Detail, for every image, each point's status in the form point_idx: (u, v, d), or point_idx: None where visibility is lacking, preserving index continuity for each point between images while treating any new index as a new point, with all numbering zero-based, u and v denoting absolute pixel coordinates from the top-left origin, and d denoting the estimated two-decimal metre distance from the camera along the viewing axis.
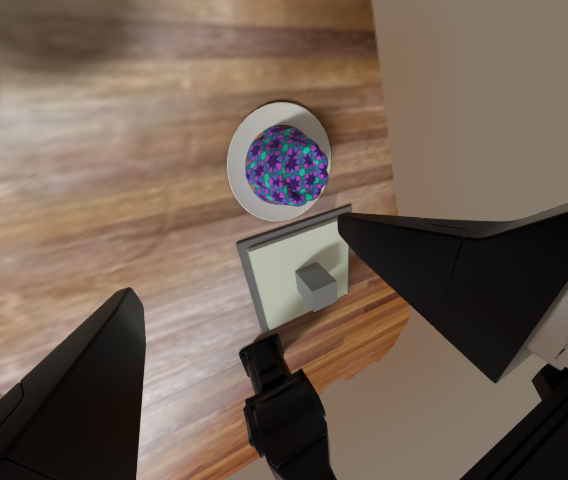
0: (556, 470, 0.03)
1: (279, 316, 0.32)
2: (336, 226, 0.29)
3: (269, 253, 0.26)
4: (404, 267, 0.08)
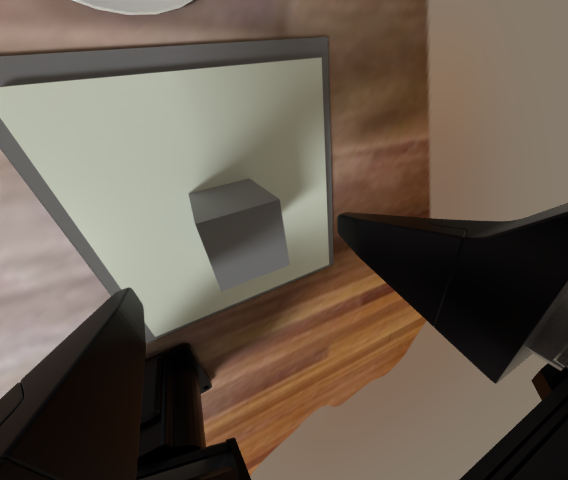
0: (556, 470, 0.03)
1: (174, 305, 0.14)
2: (290, 79, 0.12)
3: (78, 115, 0.09)
4: (404, 267, 0.08)
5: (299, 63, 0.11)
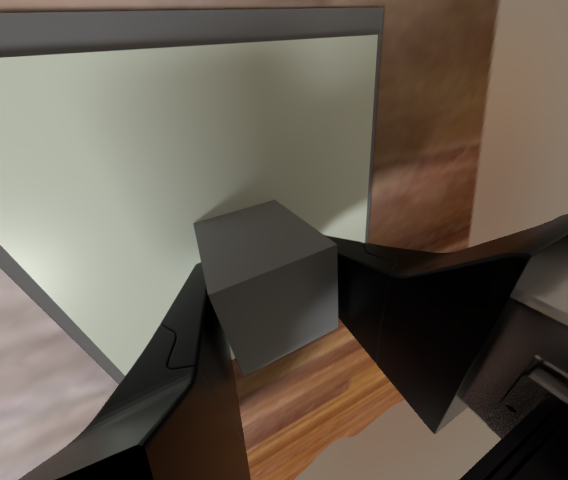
0: (556, 470, 0.03)
1: None
2: (335, 64, 0.08)
3: (21, 114, 0.06)
4: (344, 296, 0.07)
5: (349, 42, 0.08)
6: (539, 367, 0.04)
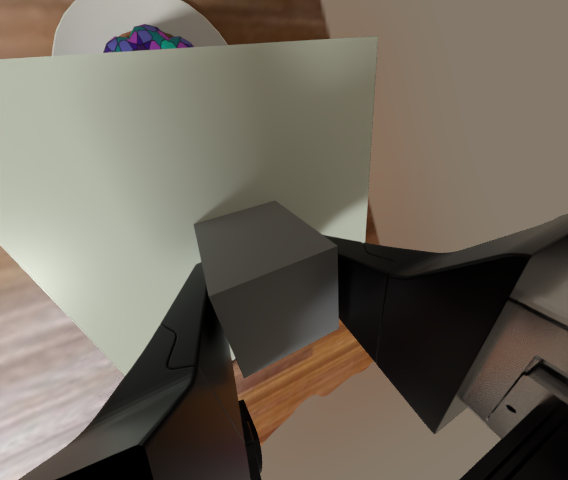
0: (556, 470, 0.03)
1: None
2: (335, 65, 0.08)
3: (22, 116, 0.06)
4: (343, 296, 0.07)
5: (349, 43, 0.08)
6: (539, 367, 0.04)
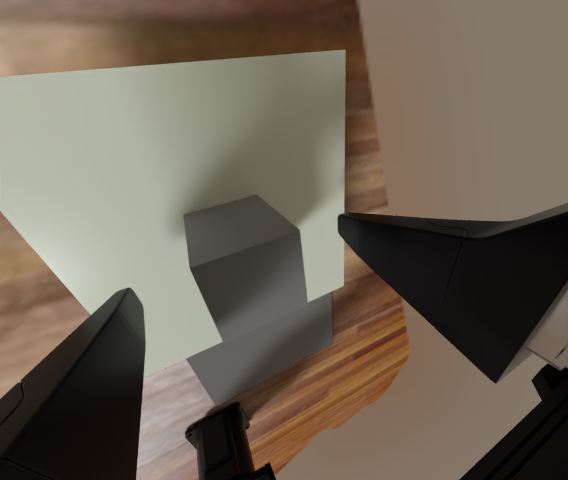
0: (556, 470, 0.03)
1: (167, 342, 0.12)
2: (307, 75, 0.09)
3: (37, 121, 0.07)
4: (404, 267, 0.08)
5: (319, 56, 0.09)
6: None
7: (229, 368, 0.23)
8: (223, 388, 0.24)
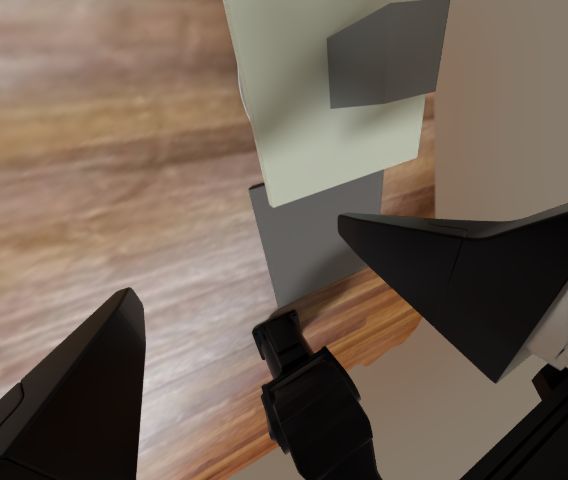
0: (556, 470, 0.03)
1: (293, 174, 0.15)
2: None
3: None
4: (404, 267, 0.08)
5: None
6: None
7: (294, 268, 0.26)
8: (286, 289, 0.27)
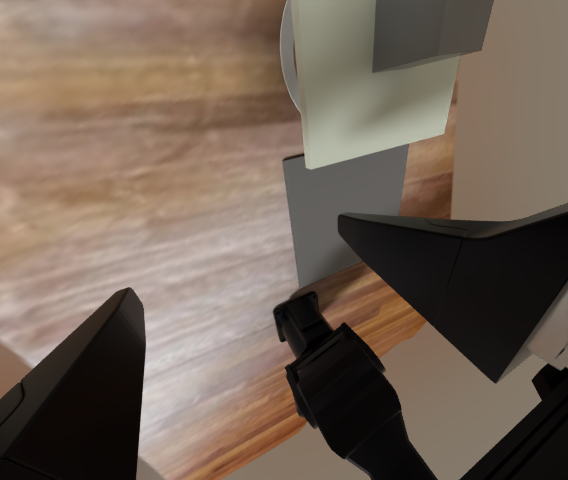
0: (556, 470, 0.03)
1: (332, 136, 0.16)
2: None
3: None
4: (404, 267, 0.08)
5: None
6: None
7: (318, 246, 0.27)
8: (309, 268, 0.28)
